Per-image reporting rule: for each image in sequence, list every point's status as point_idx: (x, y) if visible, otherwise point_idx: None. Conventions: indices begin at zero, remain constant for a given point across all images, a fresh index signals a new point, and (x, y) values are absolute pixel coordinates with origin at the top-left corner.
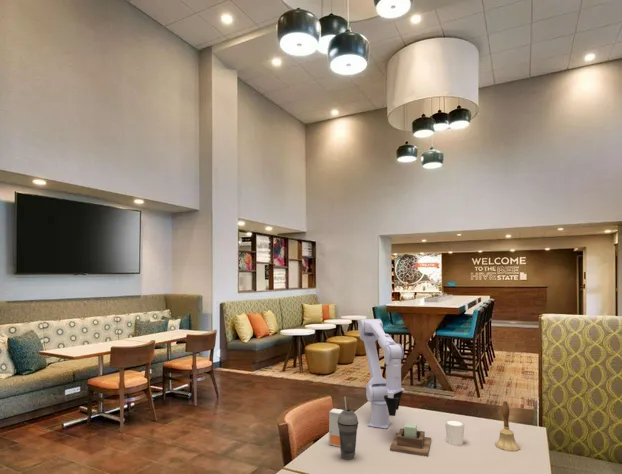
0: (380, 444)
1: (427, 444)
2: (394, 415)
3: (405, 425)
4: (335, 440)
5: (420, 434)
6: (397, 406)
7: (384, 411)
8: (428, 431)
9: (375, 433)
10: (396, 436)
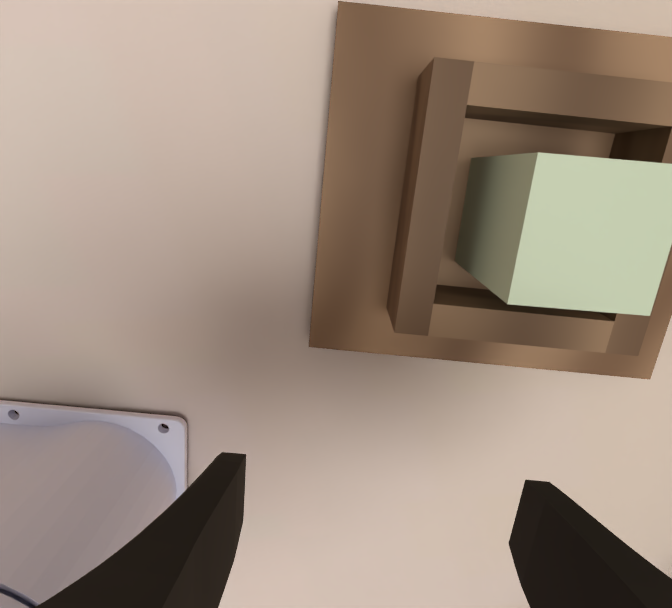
0: (521, 438)
1: (533, 46)
2: (556, 491)
3: (598, 303)
4: None
5: (543, 109)
6: (234, 496)
7: (87, 539)
8: (91, 38)
9: (311, 487)
10: (392, 342)
